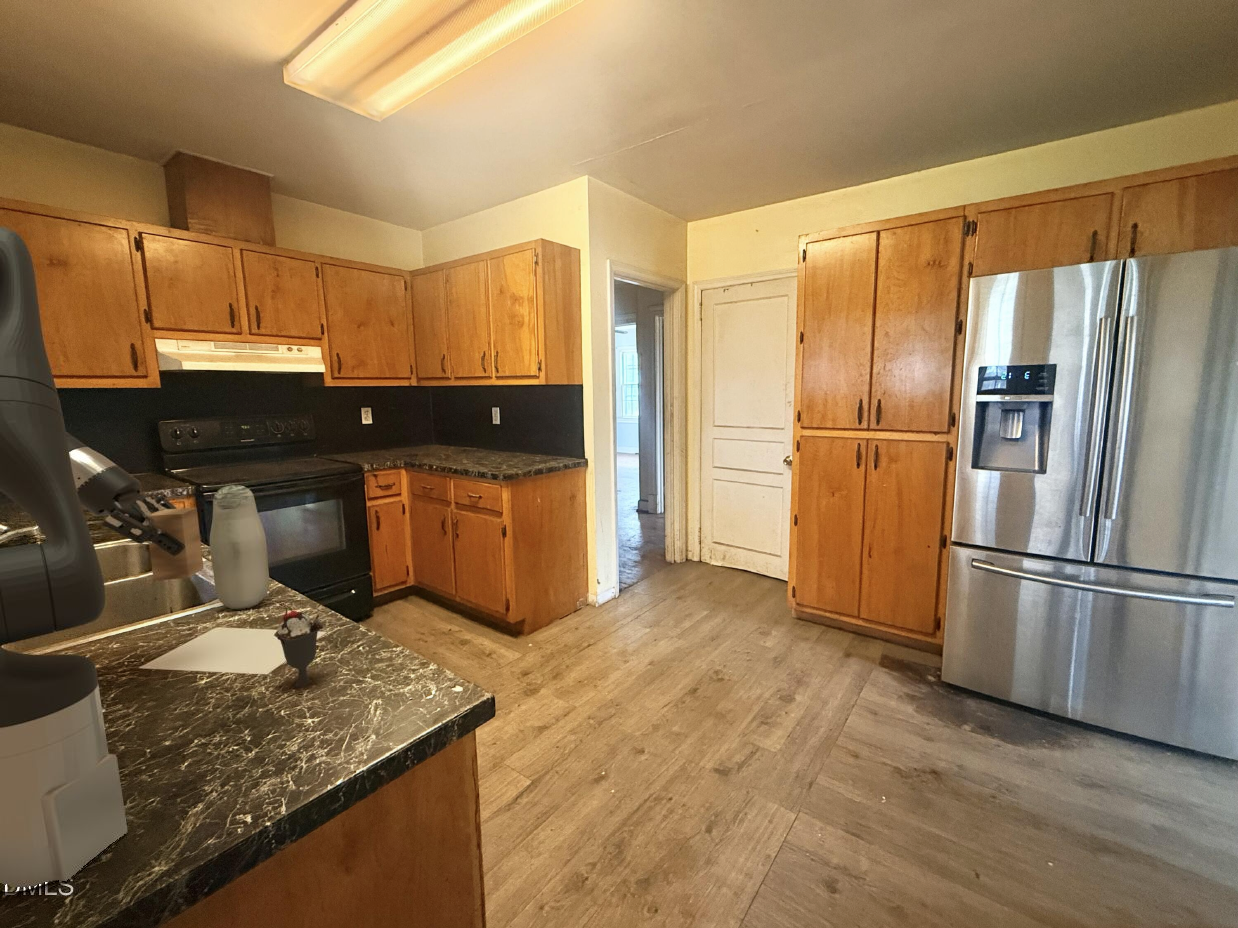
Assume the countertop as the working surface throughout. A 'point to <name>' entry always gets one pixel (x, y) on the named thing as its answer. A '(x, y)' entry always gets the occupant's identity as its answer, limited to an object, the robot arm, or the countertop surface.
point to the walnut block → (187, 532)
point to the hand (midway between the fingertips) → (189, 546)
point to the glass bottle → (238, 549)
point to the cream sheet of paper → (226, 652)
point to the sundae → (299, 642)
